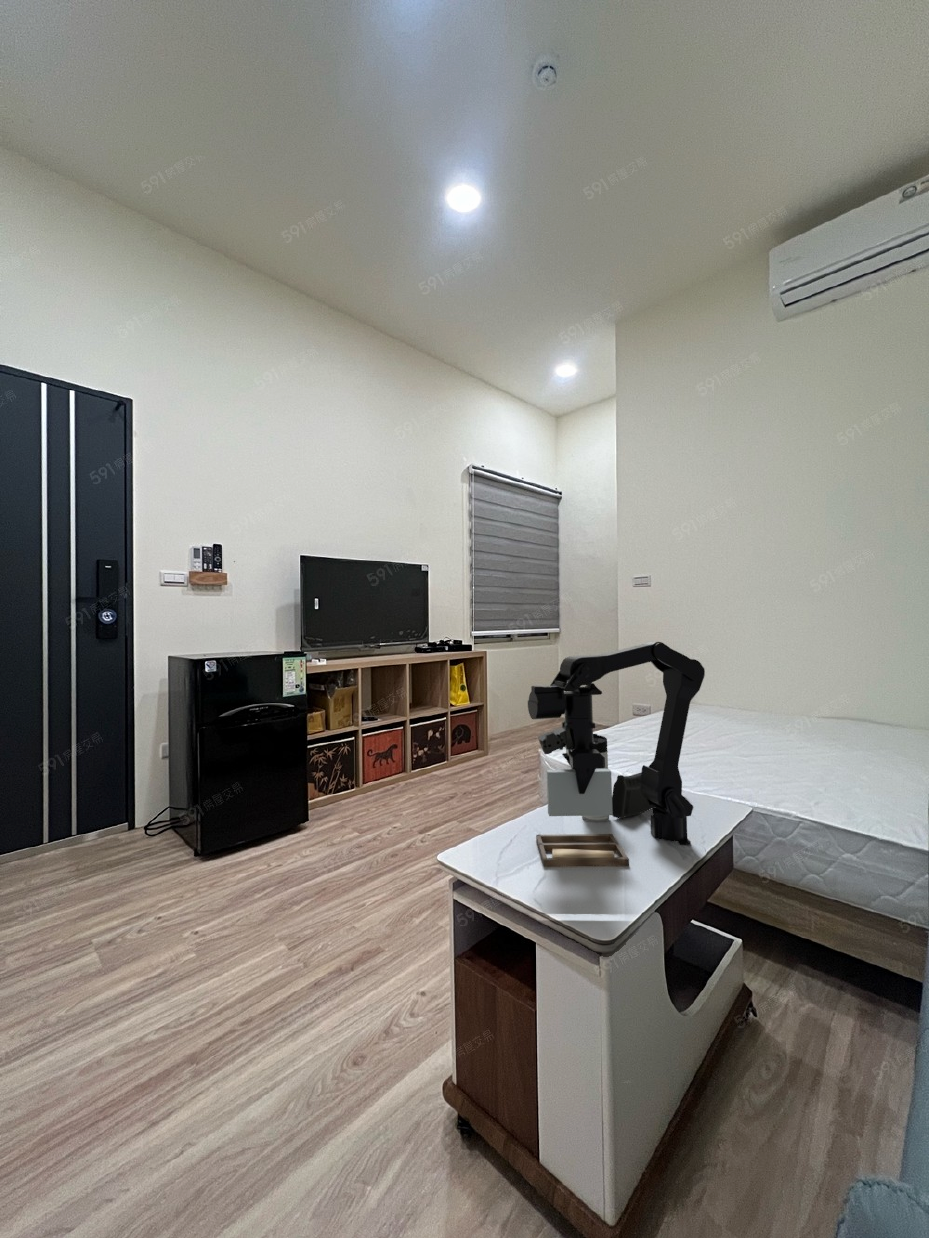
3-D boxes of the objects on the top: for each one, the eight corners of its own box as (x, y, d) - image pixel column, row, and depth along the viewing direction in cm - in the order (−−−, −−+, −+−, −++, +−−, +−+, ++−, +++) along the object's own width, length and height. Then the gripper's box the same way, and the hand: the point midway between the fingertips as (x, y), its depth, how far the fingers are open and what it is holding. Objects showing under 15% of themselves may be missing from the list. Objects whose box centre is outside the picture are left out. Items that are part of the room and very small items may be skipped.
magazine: (615, 787, 118) (672, 732, 138) (603, 784, 121) (661, 730, 140) (628, 852, 121) (682, 789, 141) (616, 848, 124) (671, 786, 143)
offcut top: (613, 855, 102) (613, 851, 102) (615, 864, 98) (615, 860, 98) (552, 851, 104) (552, 848, 104) (552, 860, 100) (552, 856, 100)
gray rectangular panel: (610, 811, 107) (608, 768, 107) (612, 815, 105) (611, 771, 105) (547, 812, 107) (546, 769, 107) (549, 816, 105) (548, 772, 105)
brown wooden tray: (612, 843, 109) (612, 833, 109) (629, 869, 97) (629, 859, 97) (536, 844, 109) (536, 834, 109) (543, 870, 97) (543, 859, 97)
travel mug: (608, 815, 125) (606, 733, 125) (609, 825, 118) (607, 739, 119) (582, 814, 126) (580, 733, 127) (582, 823, 120) (580, 738, 120)
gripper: (534, 710, 116) (536, 779, 116) (546, 725, 97) (548, 807, 97) (584, 709, 116) (585, 778, 115) (604, 724, 97) (606, 807, 97)
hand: (580, 791), depth 106 cm, fingers closed on gray rectangular panel, 2 cm apart
